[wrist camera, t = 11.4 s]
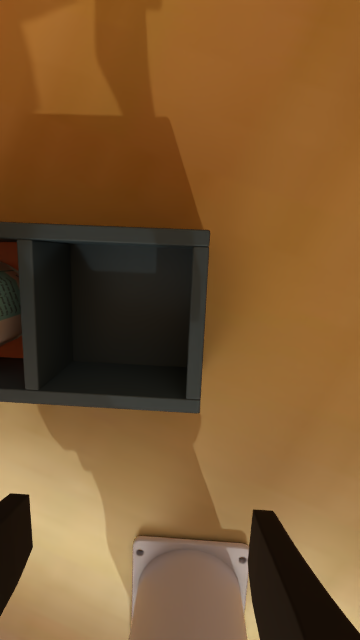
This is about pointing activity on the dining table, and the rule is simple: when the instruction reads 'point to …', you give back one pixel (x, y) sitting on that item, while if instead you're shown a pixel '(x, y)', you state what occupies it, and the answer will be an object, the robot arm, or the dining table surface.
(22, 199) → the dining table surface
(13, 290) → the beer can
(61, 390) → the organizer
